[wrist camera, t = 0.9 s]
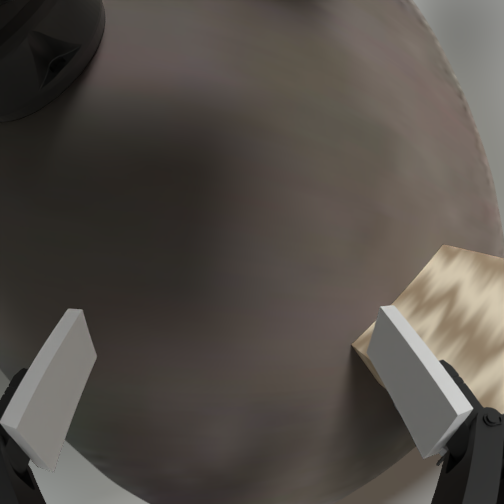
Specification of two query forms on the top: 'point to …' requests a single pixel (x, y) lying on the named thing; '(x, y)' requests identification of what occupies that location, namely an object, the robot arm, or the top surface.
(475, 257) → the tall stand
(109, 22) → the top surface
